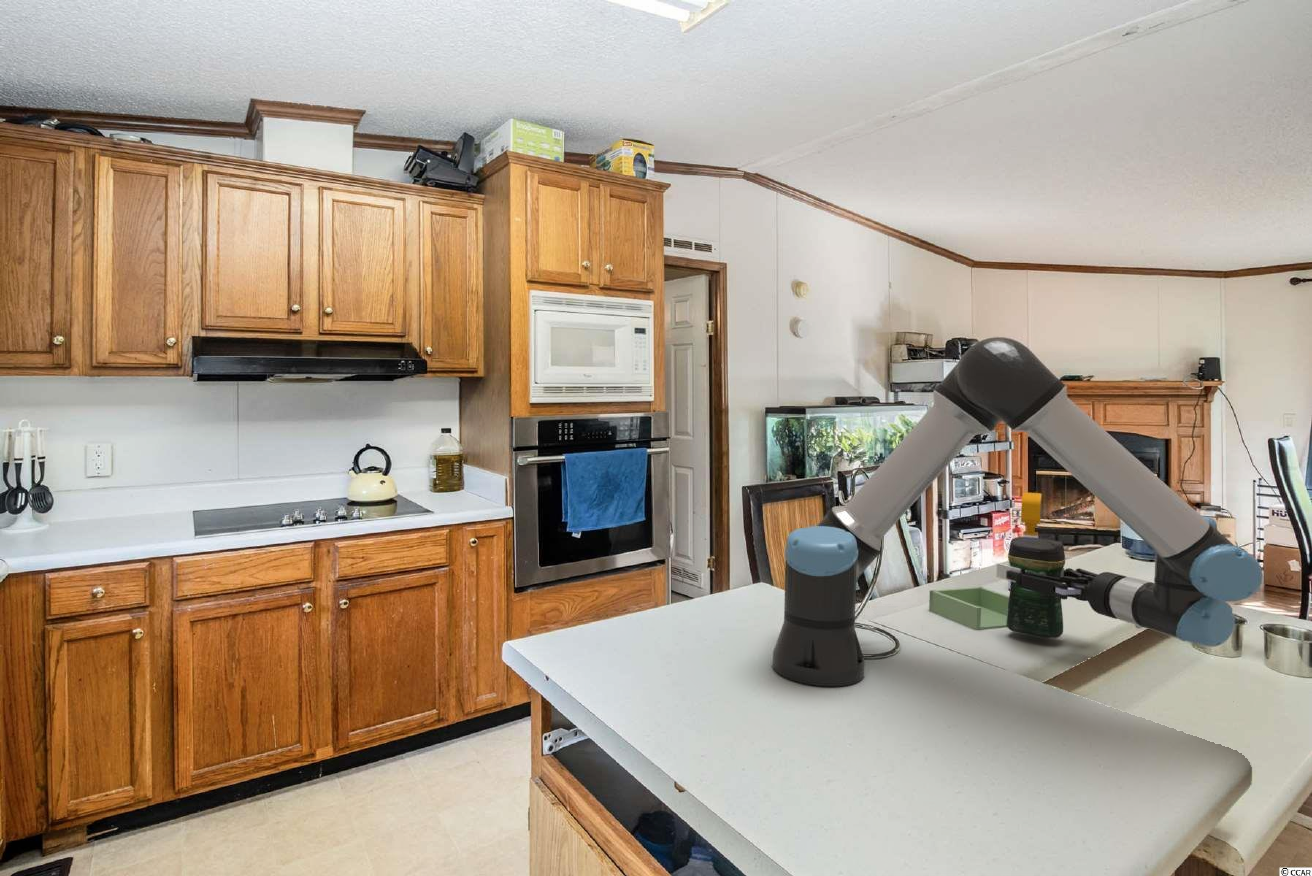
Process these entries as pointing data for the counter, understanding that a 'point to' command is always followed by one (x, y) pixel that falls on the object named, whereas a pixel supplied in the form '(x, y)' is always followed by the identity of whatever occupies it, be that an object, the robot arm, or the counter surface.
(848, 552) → the robot arm
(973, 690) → the counter surface
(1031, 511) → the soap bottle
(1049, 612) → the coffee jar
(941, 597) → the green tray
